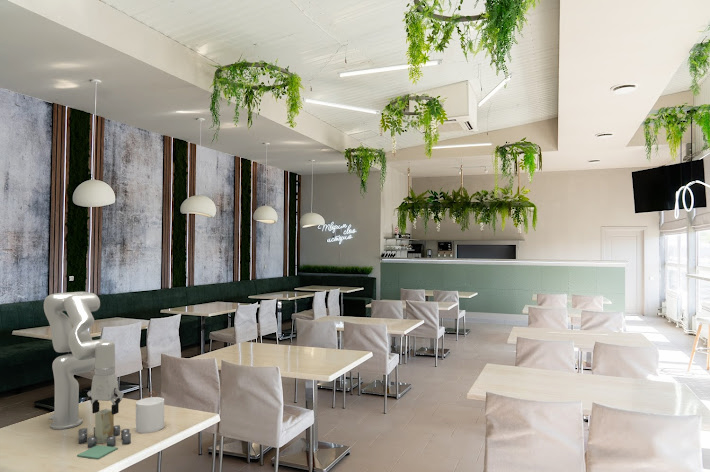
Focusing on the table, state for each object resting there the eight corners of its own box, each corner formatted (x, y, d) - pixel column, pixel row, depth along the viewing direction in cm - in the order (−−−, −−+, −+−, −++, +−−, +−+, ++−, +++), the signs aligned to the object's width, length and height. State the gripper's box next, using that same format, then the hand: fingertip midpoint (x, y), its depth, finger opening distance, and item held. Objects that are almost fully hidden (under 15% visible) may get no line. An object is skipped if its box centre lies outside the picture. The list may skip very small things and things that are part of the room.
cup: (143, 423, 224) (143, 397, 224) (168, 423, 224) (168, 397, 224) (130, 433, 212) (130, 405, 213) (157, 433, 212) (157, 405, 212)
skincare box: (103, 443, 200) (103, 413, 201) (94, 443, 201) (94, 413, 202) (114, 438, 207) (114, 408, 207) (105, 437, 208) (105, 408, 208)
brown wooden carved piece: (161, 414, 237) (161, 389, 237) (162, 416, 234) (163, 391, 234) (141, 417, 232) (141, 391, 233) (142, 419, 229) (143, 393, 229)
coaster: (76, 456, 188) (76, 455, 188) (97, 446, 198) (97, 445, 198) (98, 459, 185) (98, 457, 185) (117, 449, 195) (117, 447, 195)
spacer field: (63, 444, 200) (63, 436, 200) (94, 430, 215) (94, 422, 215) (115, 451, 193) (115, 442, 193) (143, 436, 208) (143, 427, 208)
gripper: (81, 373, 203) (81, 414, 203) (115, 374, 199) (116, 417, 198) (95, 368, 211) (95, 409, 210) (128, 370, 206) (129, 411, 205)
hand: (105, 413), depth 204 cm, fingers open, 9 cm apart
